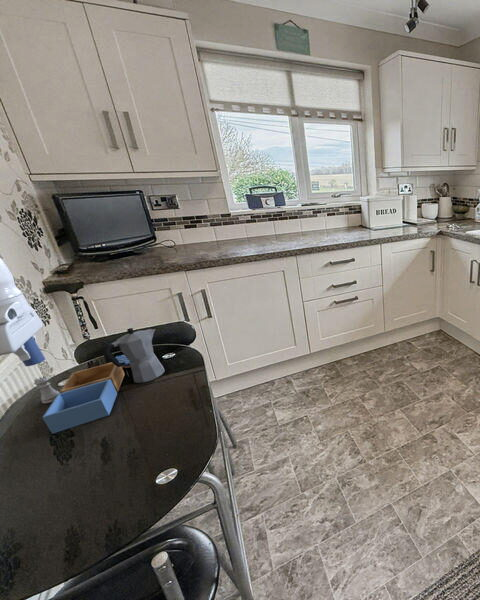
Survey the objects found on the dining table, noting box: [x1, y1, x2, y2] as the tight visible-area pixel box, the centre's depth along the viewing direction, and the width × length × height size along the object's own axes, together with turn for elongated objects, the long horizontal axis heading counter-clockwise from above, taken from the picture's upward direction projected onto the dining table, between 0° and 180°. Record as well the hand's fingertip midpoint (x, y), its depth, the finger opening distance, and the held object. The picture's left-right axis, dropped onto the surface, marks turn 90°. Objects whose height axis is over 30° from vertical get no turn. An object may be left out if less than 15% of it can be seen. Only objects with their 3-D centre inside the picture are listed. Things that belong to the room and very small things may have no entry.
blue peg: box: [21, 337, 46, 367], centre depth 89 cm, size 4×4×7 cm
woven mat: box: [114, 354, 131, 369], centre depth 122 cm, size 10×11×2 cm
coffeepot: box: [102, 327, 166, 384], centre depth 108 cm, size 15×9×18 cm, turn 153°
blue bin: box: [42, 379, 118, 435], centre depth 95 cm, size 12×12×6 cm
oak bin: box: [59, 361, 126, 394], centre depth 106 cm, size 12×12×6 cm
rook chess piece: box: [33, 375, 60, 405], centre depth 102 cm, size 4×4×8 cm
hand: (31, 355), depth 90 cm, fingers closed on blue peg, 4 cm apart
